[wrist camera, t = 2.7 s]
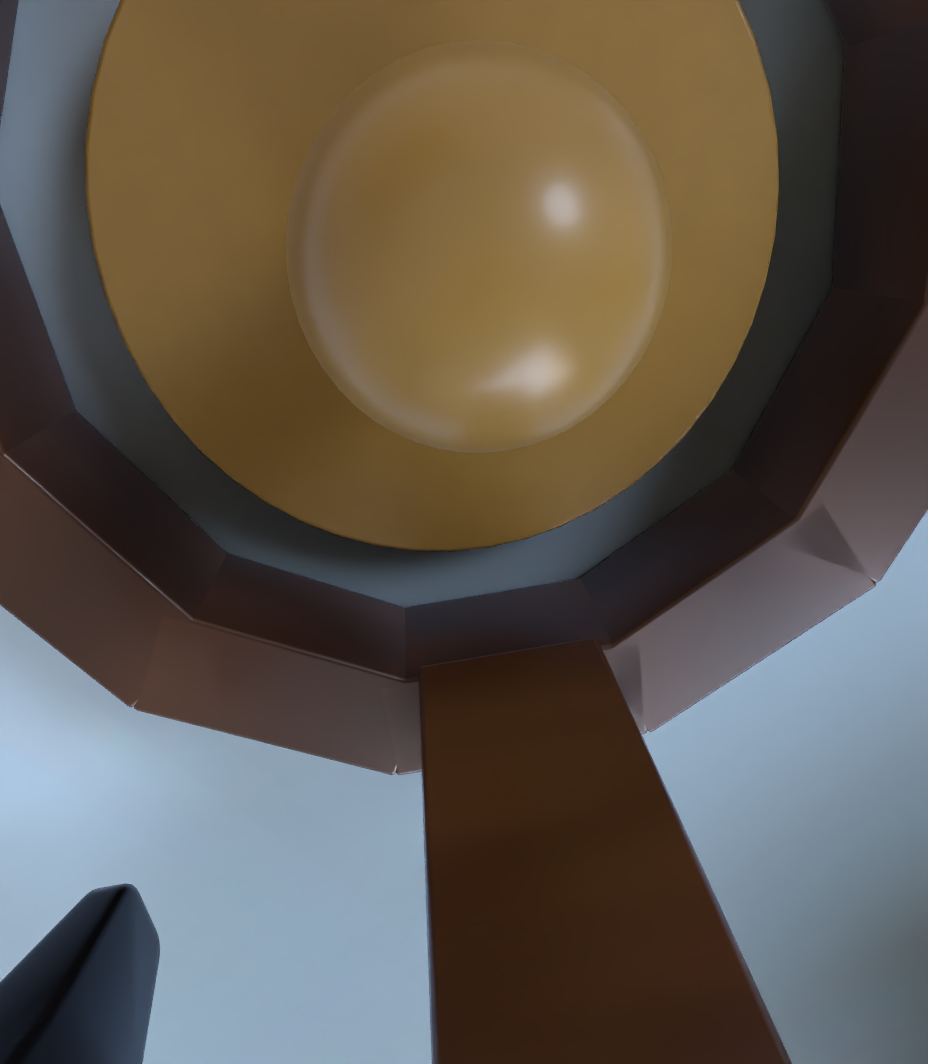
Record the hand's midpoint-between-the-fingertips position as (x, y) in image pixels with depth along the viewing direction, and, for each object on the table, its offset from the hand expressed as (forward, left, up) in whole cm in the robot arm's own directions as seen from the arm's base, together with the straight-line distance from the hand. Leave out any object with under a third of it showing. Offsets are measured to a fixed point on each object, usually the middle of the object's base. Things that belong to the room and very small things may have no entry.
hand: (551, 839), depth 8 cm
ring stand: (0, -6, -4) cm, 7 cm away
